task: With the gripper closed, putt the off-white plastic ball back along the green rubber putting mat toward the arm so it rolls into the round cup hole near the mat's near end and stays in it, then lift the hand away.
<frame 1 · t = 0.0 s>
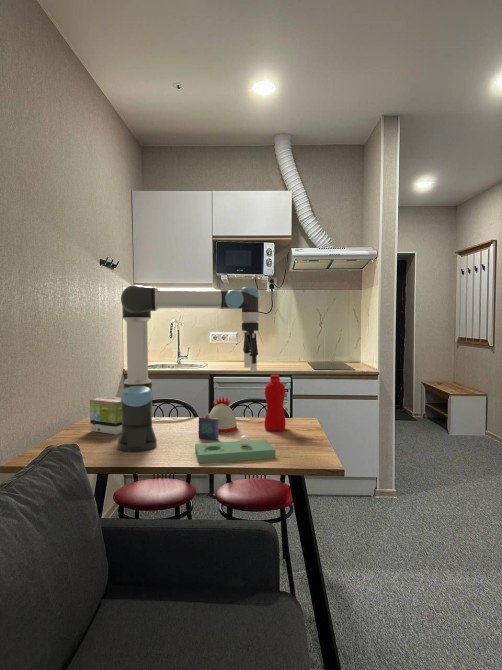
hand: (250, 369, 199), 28 cm above the table, tool pointing down, fingers open, 13 cm apart
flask: (208, 439, 188), on the table
ball: (244, 440, 167), point 5 cm above the table, touching putting mat
putting mat: (234, 454, 166), on the table
water bottle: (275, 429, 204), on the table
tea box: (110, 431, 202), on the table
kitchen timer: (221, 429, 204), on the table
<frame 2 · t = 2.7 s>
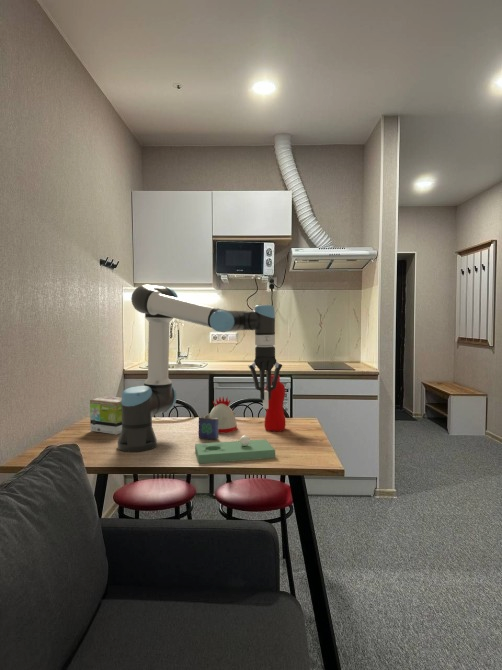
hand: (265, 408, 168), 17 cm above the table, tool pointing down, fingers closed
nothing on the table moved.
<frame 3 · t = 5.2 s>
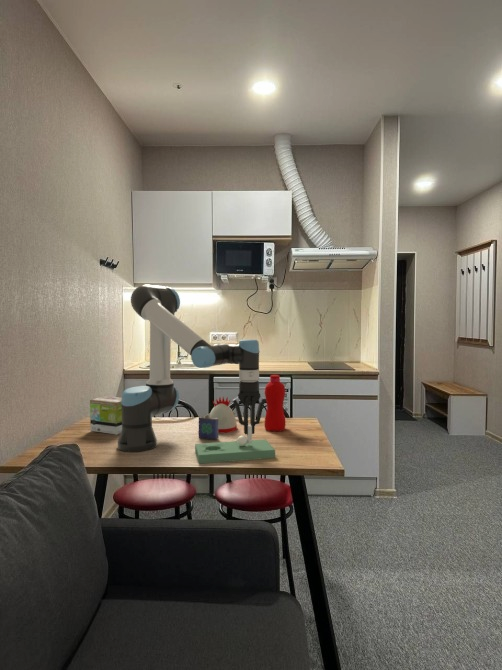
hand: (249, 442, 167), 4 cm above the table, tool pointing down, fingers closed
ball: (242, 440, 166), point 5 cm above the table, tilted 25°, touching gripper, putting mat
everything else where it was.
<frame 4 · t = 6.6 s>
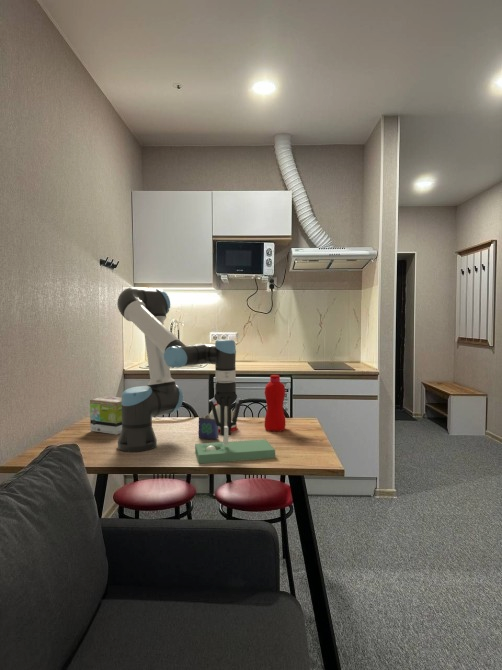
hand: (225, 443, 165), 4 cm above the table, tool pointing down, fingers closed
ball: (211, 451, 164), point 2 cm above the table, tilted 33°
everything else where it was.
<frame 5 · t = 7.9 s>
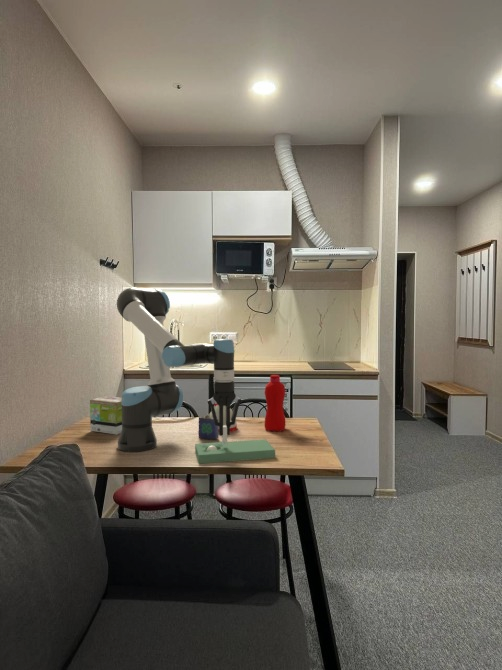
hand: (224, 443, 165), 4 cm above the table, tool pointing down, fingers closed
ball: (211, 450, 164), point 2 cm above the table, tilted 23°
everything else where it was.
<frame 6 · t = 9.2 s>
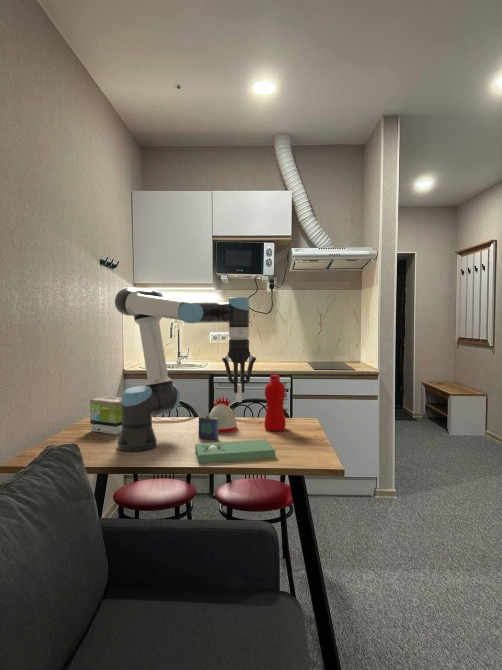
hand: (239, 401, 166), 20 cm above the table, tool pointing down, fingers closed
ball: (212, 450, 164), point 2 cm above the table, tilted 13°
everything else where it was.
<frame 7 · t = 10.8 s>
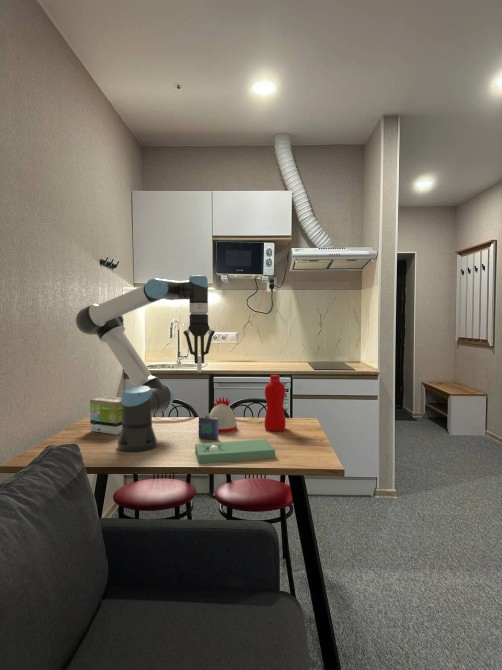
hand: (199, 371, 181), 29 cm above the table, tool pointing down, fingers closed
ball: (214, 450, 164), point 2 cm above the table
everything else where it was.
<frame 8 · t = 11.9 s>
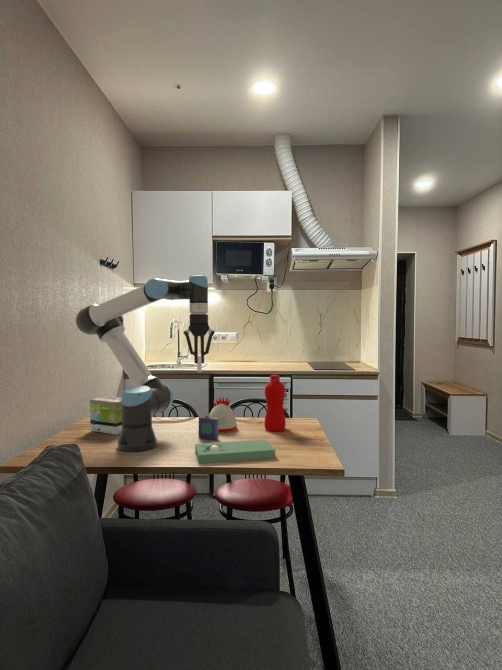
hand: (199, 371, 181), 29 cm above the table, tool pointing down, fingers closed
ball: (214, 450, 164), point 2 cm above the table, tilted 8°
everything else where it was.
at the end: ball 0.6 cm from the target spot on the putting mat, point 2.0 cm above the putting mat's base; the gripper is holding nothing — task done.
